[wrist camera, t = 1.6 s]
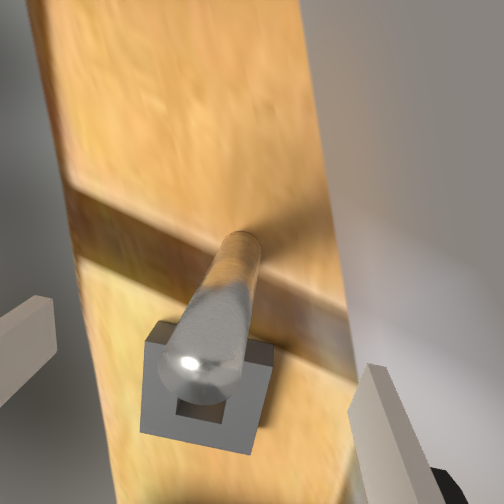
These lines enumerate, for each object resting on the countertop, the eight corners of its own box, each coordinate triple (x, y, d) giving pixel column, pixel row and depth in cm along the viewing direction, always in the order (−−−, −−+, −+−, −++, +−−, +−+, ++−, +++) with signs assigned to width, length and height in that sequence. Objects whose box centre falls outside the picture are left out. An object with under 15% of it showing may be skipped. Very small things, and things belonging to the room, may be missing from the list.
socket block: (252, 427, 32) (250, 455, 30) (151, 406, 33) (139, 432, 30) (273, 344, 28) (273, 367, 26) (158, 321, 29) (144, 341, 26)
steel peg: (257, 273, 26) (233, 412, 13) (218, 265, 26) (155, 395, 13) (264, 236, 25) (247, 347, 12) (223, 227, 25) (160, 329, 12)
